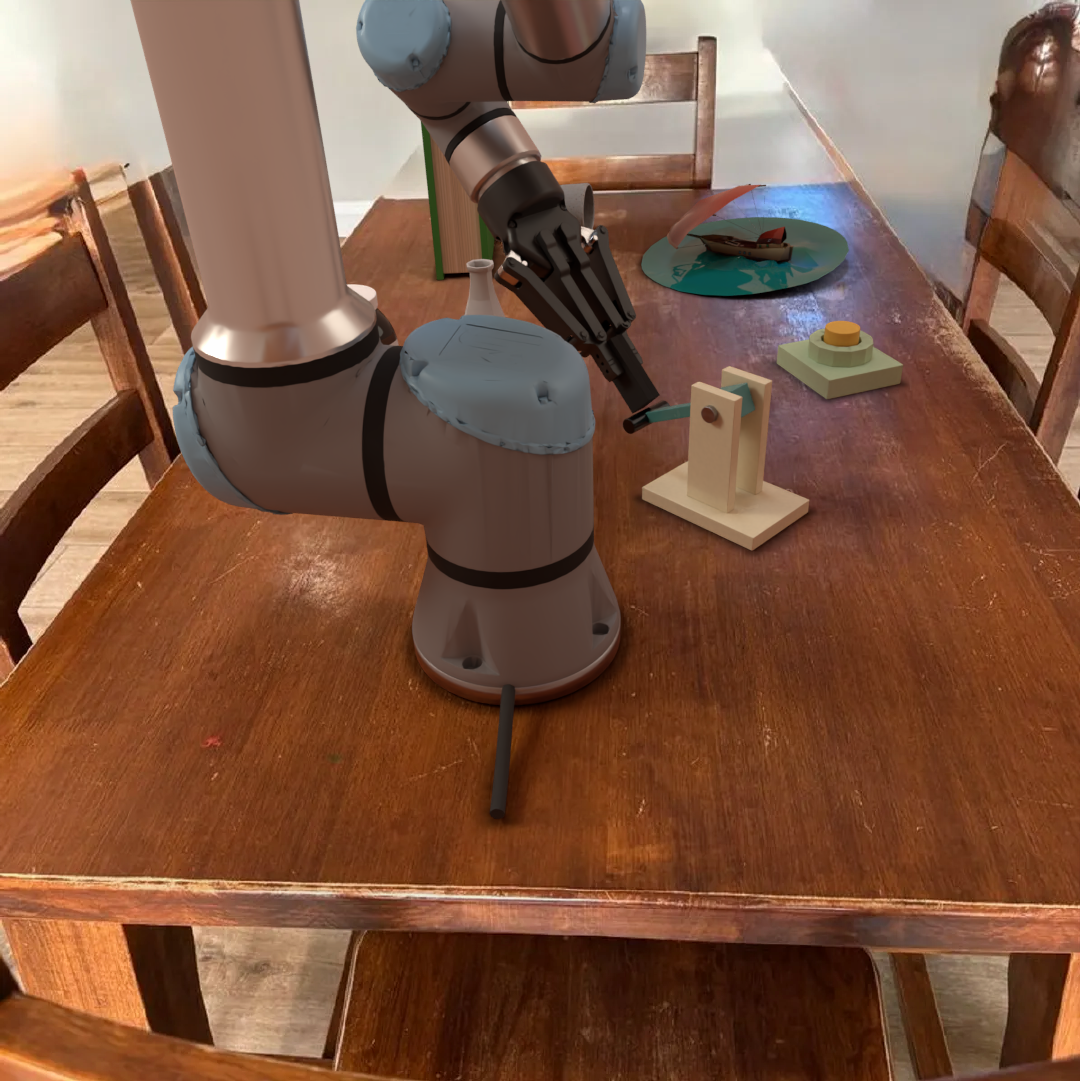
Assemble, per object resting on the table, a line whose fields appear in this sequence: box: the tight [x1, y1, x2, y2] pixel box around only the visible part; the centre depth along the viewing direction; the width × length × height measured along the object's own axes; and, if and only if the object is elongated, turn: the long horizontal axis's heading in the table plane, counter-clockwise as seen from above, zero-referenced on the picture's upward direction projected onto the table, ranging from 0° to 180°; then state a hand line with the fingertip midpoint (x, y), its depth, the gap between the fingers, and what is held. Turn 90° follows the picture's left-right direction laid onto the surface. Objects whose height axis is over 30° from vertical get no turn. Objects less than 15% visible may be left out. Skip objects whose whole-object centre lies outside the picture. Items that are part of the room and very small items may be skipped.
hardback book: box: [420, 121, 496, 281], centre depth 141 cm, size 18×7×24 cm, turn 0°
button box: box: [776, 327, 904, 400], centre depth 109 cm, size 10×9×4 cm
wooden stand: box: [641, 365, 810, 552], centre depth 85 cm, size 12×8×12 cm, turn 44°
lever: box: [622, 383, 755, 435], centre depth 87 cm, size 12×5×2 cm, turn 44°
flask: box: [463, 259, 506, 317], centre depth 118 cm, size 7×7×10 cm
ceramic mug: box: [560, 182, 596, 230], centre depth 151 cm, size 11×8×8 cm
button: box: [823, 320, 861, 347], centre depth 107 cm, size 4×4×2 cm
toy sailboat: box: [640, 183, 850, 297], centre depth 137 cm, size 28×28×11 cm
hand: (646, 404), depth 91 cm, fingers closed
